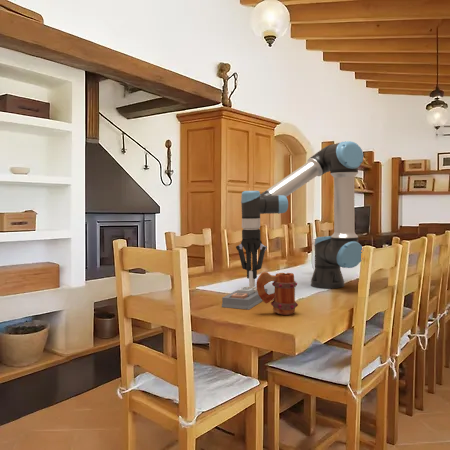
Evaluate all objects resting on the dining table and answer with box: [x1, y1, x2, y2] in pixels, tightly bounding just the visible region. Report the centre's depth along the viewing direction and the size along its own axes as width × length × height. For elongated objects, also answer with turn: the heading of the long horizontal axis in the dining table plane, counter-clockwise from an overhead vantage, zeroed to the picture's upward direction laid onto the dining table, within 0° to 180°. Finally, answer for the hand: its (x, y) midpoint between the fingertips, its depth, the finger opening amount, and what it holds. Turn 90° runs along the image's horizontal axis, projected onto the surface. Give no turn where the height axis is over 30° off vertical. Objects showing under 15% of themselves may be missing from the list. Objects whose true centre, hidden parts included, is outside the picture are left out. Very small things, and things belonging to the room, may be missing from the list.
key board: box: [221, 286, 268, 310], centre depth 181 cm, size 11×22×4 cm, turn 156°
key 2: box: [237, 287, 254, 295], centre depth 181 cm, size 5×5×3 cm
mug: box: [255, 271, 299, 316], centre depth 162 cm, size 15×8×15 cm, turn 92°
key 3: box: [231, 293, 248, 299], centre depth 175 cm, size 5×5×3 cm
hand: (252, 286), depth 187 cm, fingers closed
